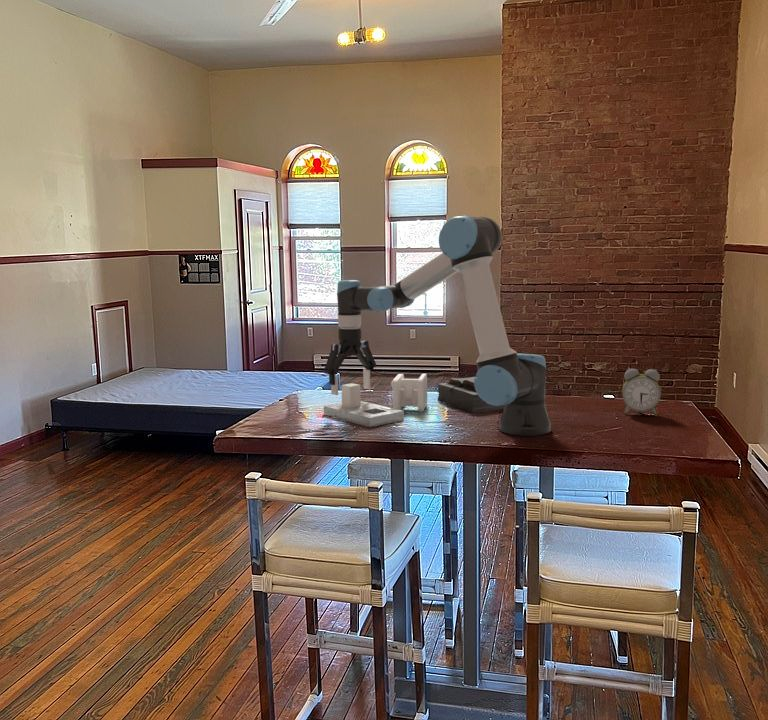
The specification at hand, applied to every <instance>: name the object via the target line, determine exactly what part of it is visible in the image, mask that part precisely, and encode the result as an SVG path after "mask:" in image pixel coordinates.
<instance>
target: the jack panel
mask: <svg viewBox="0 0 768 720" xmlns="http://www.w3.org/2000/svg"><path fill="white" fill-rule="evenodd" d="M404 414H405V411H404V410H401V409H400V410H398V409H394V408H393V407H389V406H385V405H380V404H377V403H373V402H366V401H362V400H361V406H360V407H355V408H346V407H342V402H338V403H333V404H329V405H323V415H324V416H326V415H327V416H326V417H330V416H331V417H330V418H334V417H335V418H334V419H337V418H338V420H341V419H342V421H344V422H348V423H353V424H356V425H361V426H363V427H368V428H373V427H378V426H382V425H388V424H393V423H396V422H400V421H404V420H405V415H404Z"/></svg>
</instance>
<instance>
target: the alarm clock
mask: <svg viewBox="0 0 768 720" xmlns="http://www.w3.org/2000/svg"><path fill="white" fill-rule="evenodd" d="M623 378H624V380H625V382H624V383H623V386H622V389H621V396H622V400H623V402H624V403H625V405H626V408H625V410H624V412H623V414H624V413H627V414H628V413H629V412H630V411H631V410H633V411H636V412H639V411H640V412H639V413H642V412H648V411H651V413H652V414H653V415H654V417H657V416H658V413H657V410H656V408H655V407H656V406H657V405H658V404H659V402H660V400H661V395H662V392H661V388H660V385H659V383H658V382H659V381H660V378H661V377H660V372H658V370H657V369H653V368H651V369H649V368H648V369H646V370H643V373H640V372H639V370H638V369H637V368H627V370H626V371H625V372H624V376H623Z"/></svg>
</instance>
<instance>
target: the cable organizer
mask: <svg viewBox="0 0 768 720" xmlns="http://www.w3.org/2000/svg"><path fill="white" fill-rule="evenodd" d="M390 387H392V389H391V390H392V397H391V398H392V408H394V409H398V410H401V409H402V407H404V408H406V407H409V406H410V407H413V408H417V411H418V412H420V413H423V412H424V410H425V409H426V406H427V404H428V375H427V373H421V375H420V376H419V377H418V378H405V375H404V373H398V374H397V375H396V376H395V377H394V378H393V380H391V383H390Z"/></svg>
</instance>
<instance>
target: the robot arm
mask: <svg viewBox="0 0 768 720" xmlns="http://www.w3.org/2000/svg"><path fill="white" fill-rule="evenodd" d="M502 240H503V234H502V230H501V227H500V226H499V225H498V223H497V222H496V221H495V220H494V219H492V218H490V217H487V216H470V215H461V216H459V215H458V216H453V217H452V218H449V219H448V220H446V221H445V223H444V224H443V225H442V228H441V229H440V232H439V235H438V246H439V249H440V251H441V252H442V253H440V254H439V255H437V256H436V257H434V258H433V259H431V260H429V261H428V262H427V263H425V264H423V265H422V266H420V267H419V268H418V269H416V270H414V271H413V272H411V273H410V274H409V275H407V276H405V277H403V278H402V279H401V280H399V281H398V282H396V283H395V284H393V285H381V286H362V285H361V282H360V280H358V279H357V280H356V279H347V280H346V279H344V280H342V279H341V280H339V281H338V282H337V292H336V295H337V297H336V299H337V326H338V329H337V332H338V333H337V334H338V341H339V343H338V344H336V343H331V345H330V346H331V347H330V353H329V354H328V358H327V361H326V363H325V367H324V369H323V374H327V375H328V377H329V379H328V380H329V385H330V390H331V391H330V392H331V393H330V394H331V395H334V396H338V395H339V379H338V378H339V377H338V374H337V372H338V371H339V370H340V368H341V366H342V364H343V362H344V360H345V359H347V358H348V357H349V358H350V357H351V356H354V357H356V358H357V359H358V361H360V363H361V365H362V366H363V367H364V368H365V369H362V371H363V373H362V374H363V375H362V376H363V377H362V378H363V379H362V380H363V381H362V382H363V389H364V390H365V389H366V390H371V379H372V371H373V370H374V368H376V367H377V362H376V361H375V358H374V356H373V353H372V352H371V349H370V346H369V343H370V342H369V341H368V340H365V339H364V340H362V328H361V326H362V313H361V312H362V311H369V312H370V311H371V312H387V311H389V310H390V309H392V310H393V309H403V308H406V307H407V308H408V307H409V306H411V305H413V303H414V302H415V300H416V299H417V298H418V297H420V296H421V295H423V294H426V293H427V292H428V291H430V290H431V289H432V288H434V287H436V286H438V285H439V284H441V283H442V282H445V280H447V279H449V278H450V277H453V276H454V275H455V274H457V273H459V277H460V280H461V284H462V285H461V286H462V289H463V293H464V296H465V301H466V304H467V308H468V313H469V317H470V320H471V324H472V329H473V332H474V336H475V340H476V343H477V348H478V353H479V355H478V357H477V359H476V361H475V362H476V366H477V372H476V374H475V376H474V377H475V378H474V386H475V390H476V392H477V394H478V395H479V397H480V398H481V399H482V400H483V401H485V402H486V403H488V404H490V405H495V406H499V405H505V407H504V409H502V413H501V416H500V419H499V422H498V429H499V431H500V432H502V433H504V434H507V435H514V436H525V437H526V436H527V437H528V436H529V437H530V436H531V437H532V436H541V435H546V434H548V433H550V432H551V431H552V430H551V428H552V427H551V420H550V418H549V415H548V410H547V408H546V383H547V382H546V379H547V378H546V375H547V373H546V372H547V365H546V363H547V362H546V358H545V356H544V355H541V354H532V353H531V354H530V353H518V352H517V351H516V350H514V349H513V348H511V347H510V343H509V340H508V336H507V331H506V327H505V323H504V320H503V315H502V311H501V307H500V303H499V300H498V295H497V292H496V287H495V284H494V279H493V276H492V272H491V268H490V264H491V262H492V260H493V259H494V257H493V255H495V253H496V252H497V251H498V250H499V248H500V247H501V245H502Z"/></svg>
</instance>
